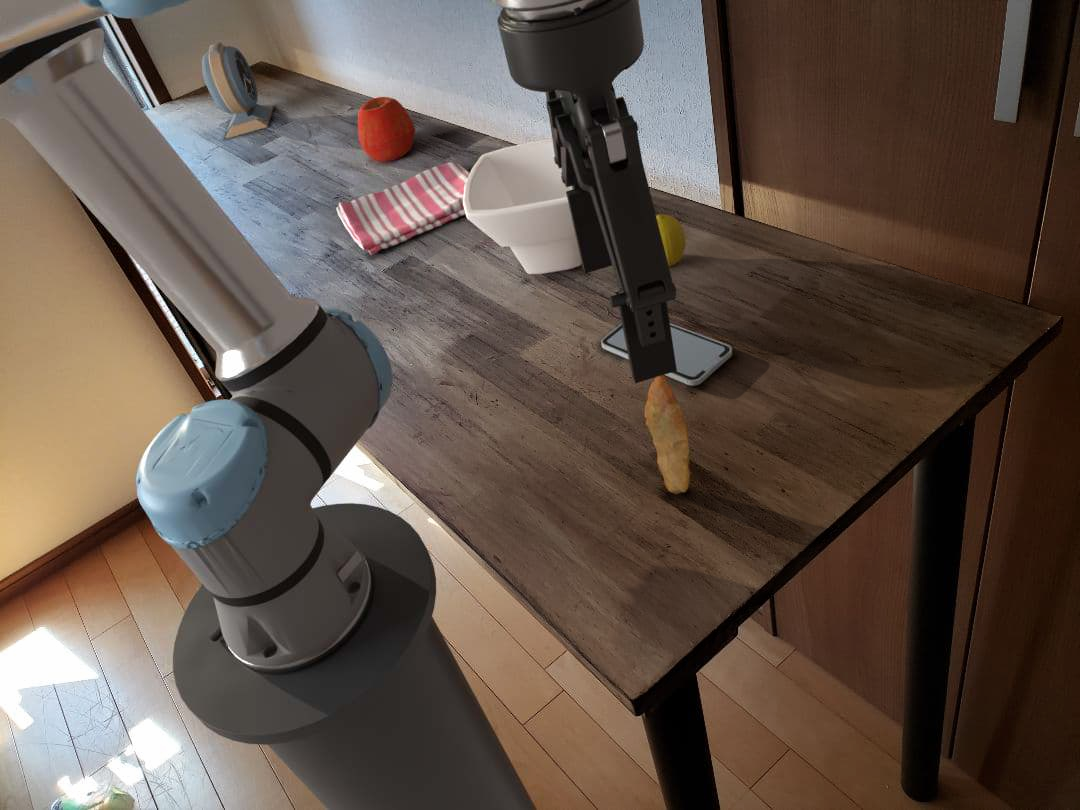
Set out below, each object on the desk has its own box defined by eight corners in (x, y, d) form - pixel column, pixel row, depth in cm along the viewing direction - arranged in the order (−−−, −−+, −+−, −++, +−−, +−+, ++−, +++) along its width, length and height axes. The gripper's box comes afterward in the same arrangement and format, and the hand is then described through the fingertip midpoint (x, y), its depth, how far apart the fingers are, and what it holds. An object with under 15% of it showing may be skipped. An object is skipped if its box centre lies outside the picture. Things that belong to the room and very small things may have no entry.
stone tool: (705, 494, 82) (689, 378, 72) (691, 509, 81) (672, 394, 71) (665, 472, 85) (644, 359, 75) (650, 487, 84) (627, 374, 74)
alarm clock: (267, 128, 187) (230, 49, 175) (225, 140, 187) (186, 62, 176) (273, 105, 198) (239, 29, 186) (234, 116, 198) (198, 41, 187)
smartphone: (637, 310, 105) (735, 347, 95) (638, 316, 105) (736, 353, 96) (597, 342, 102) (694, 384, 92) (598, 348, 102) (695, 390, 92)
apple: (432, 144, 160) (414, 90, 153) (387, 171, 155) (367, 116, 148) (400, 135, 166) (381, 83, 160) (356, 160, 162) (335, 108, 155)
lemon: (638, 273, 112) (629, 221, 107) (663, 252, 115) (655, 200, 109) (672, 283, 109) (664, 230, 104) (696, 260, 111) (690, 207, 106)
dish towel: (339, 221, 144) (331, 203, 142) (460, 169, 149) (455, 151, 146) (367, 261, 132) (359, 242, 129) (498, 202, 136) (493, 183, 134)
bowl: (625, 287, 110) (607, 193, 101) (483, 309, 114) (454, 220, 105) (623, 215, 124) (607, 127, 115) (497, 237, 128) (472, 152, 119)
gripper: (715, 41, 34) (745, 413, 48) (578, -74, 53) (628, 217, 67) (540, 94, 34) (621, 450, 48) (466, -40, 53) (539, 244, 67)
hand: (625, 315), depth 58 cm, fingers open, 13 cm apart
